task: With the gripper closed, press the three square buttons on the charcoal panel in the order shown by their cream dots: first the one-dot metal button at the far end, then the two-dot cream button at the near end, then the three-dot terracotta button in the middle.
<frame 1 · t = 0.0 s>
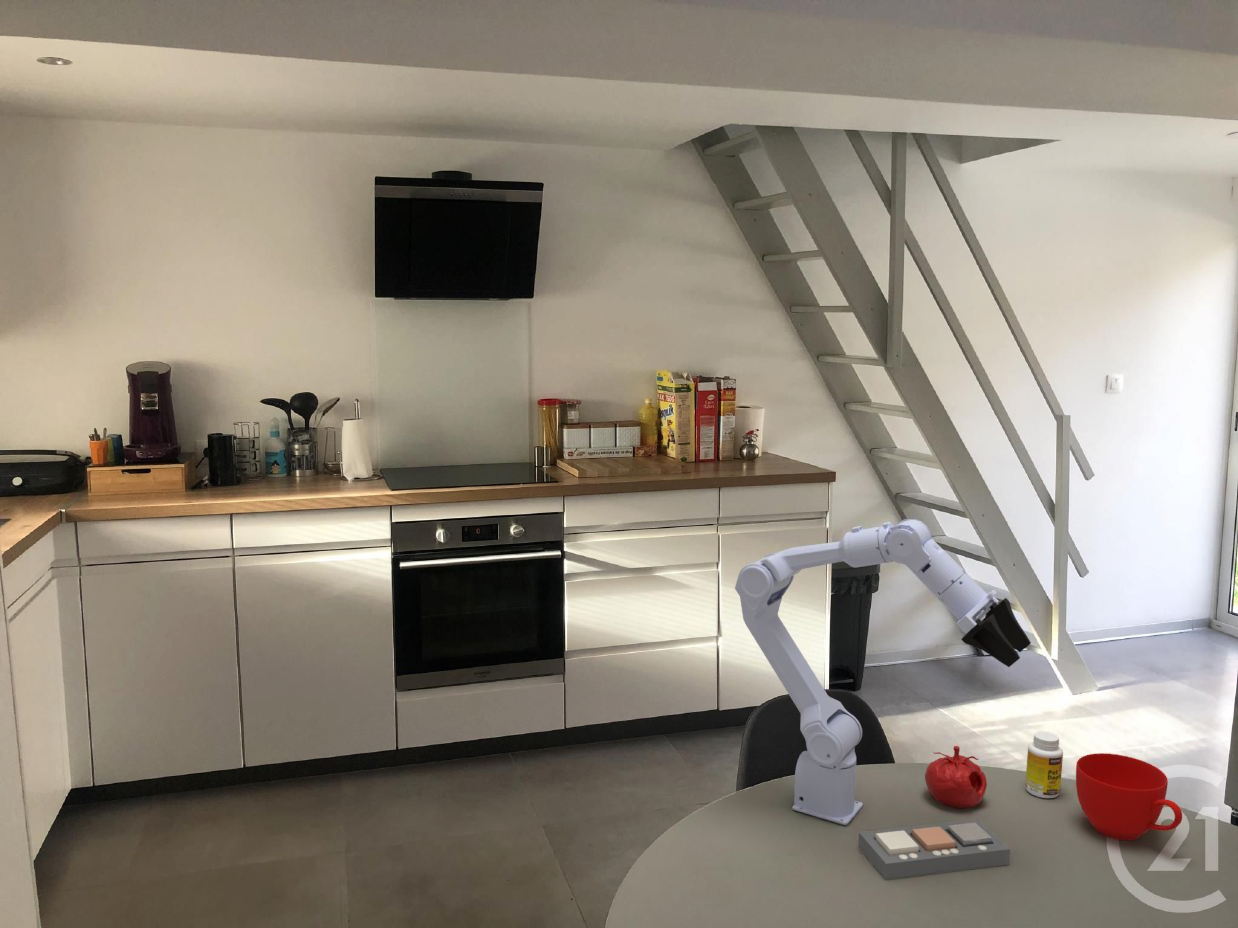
hand: (1020, 654, 144), 32 cm above the table, tool tilted 50°, fingers open, 7 cm apart
button two dot: (896, 845, 148), point 2 cm above the table, slide at 0.0 cm
supplement bottle: (1042, 792, 170), on the table
red hollow rounded sculpture: (954, 800, 167), on the table
button one dot: (969, 836, 151), point 2 cm above the table, slide at 0.0 cm
ceramic cup: (1127, 836, 156), on the table
button panel: (932, 855, 150), on the table
button three dot: (933, 840, 149), point 2 cm above the table, slide at 0.0 cm
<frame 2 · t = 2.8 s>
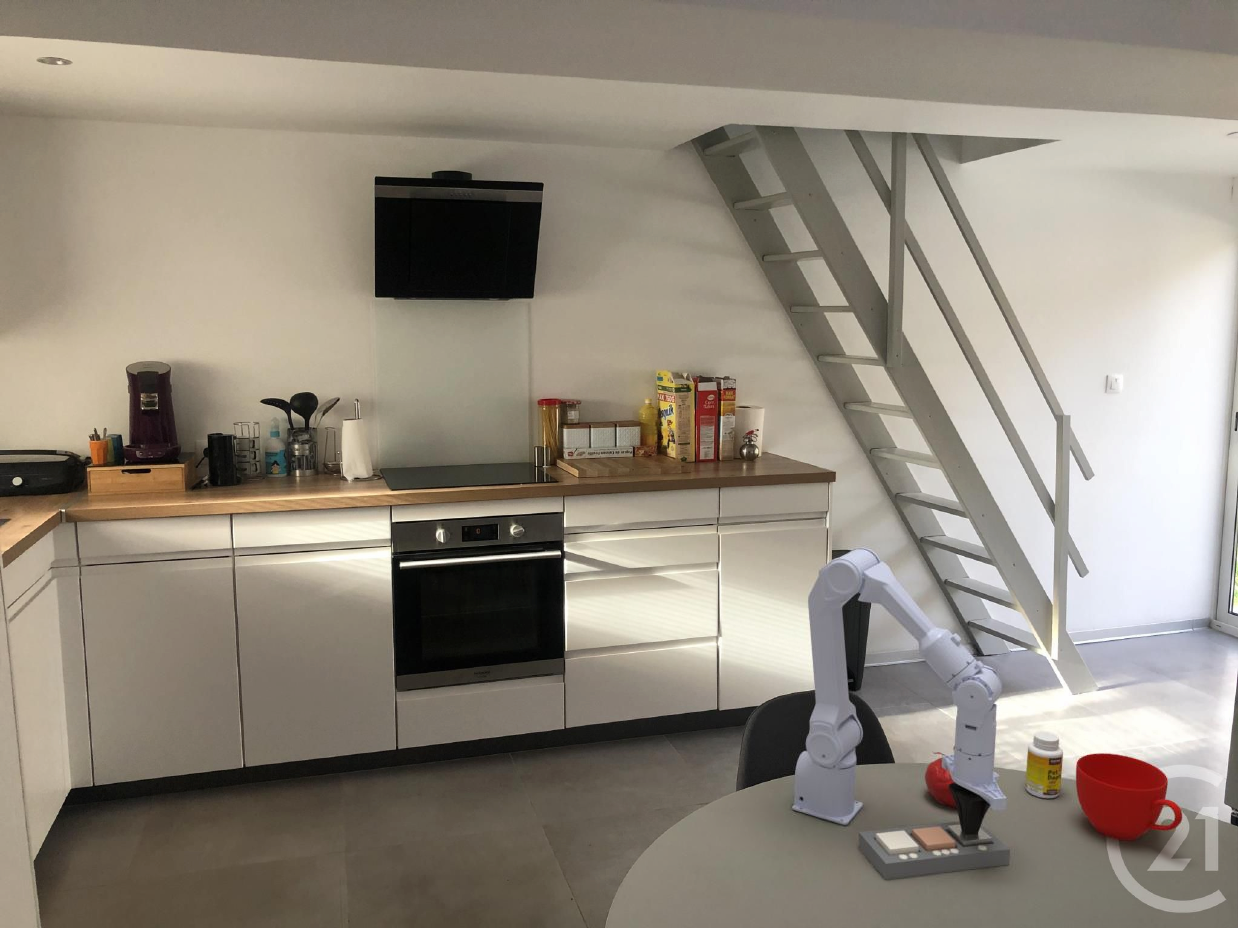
hand: (969, 832, 150), 3 cm above the table, tool pointing down, fingers closed, pressing on button one dot
button one dot: (969, 837, 151), point 2 cm above the table, slide at 0.1 cm, touching gripper
everything else where it was.
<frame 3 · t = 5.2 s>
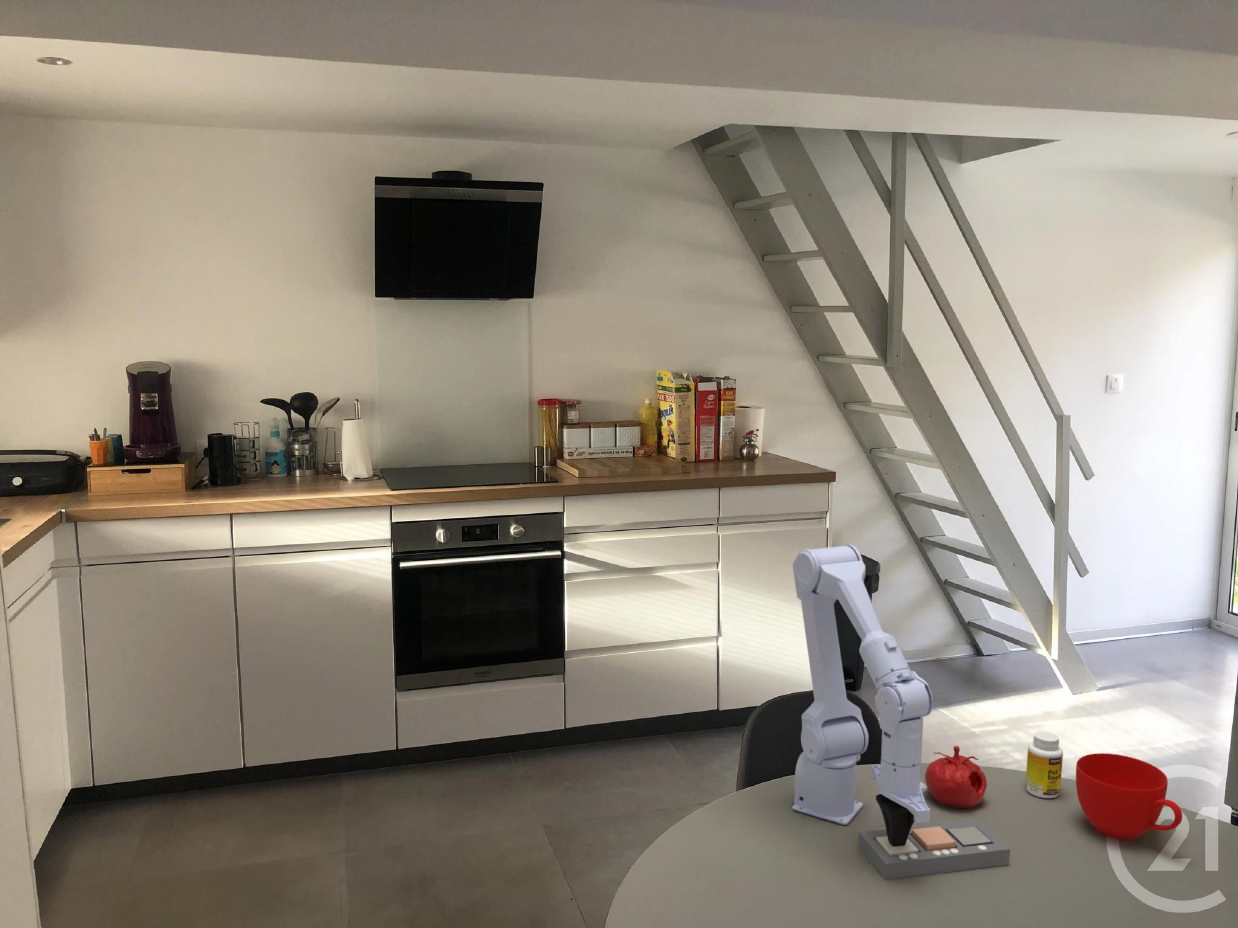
hand: (896, 843, 148), 3 cm above the table, tool pointing down, fingers closed, pressing on button two dot
button two dot: (896, 849, 148), point 2 cm above the table, slide at 0.6 cm, touching gripper
button one dot: (969, 840, 151), point 2 cm above the table, slide at 0.6 cm
everything else where it was.
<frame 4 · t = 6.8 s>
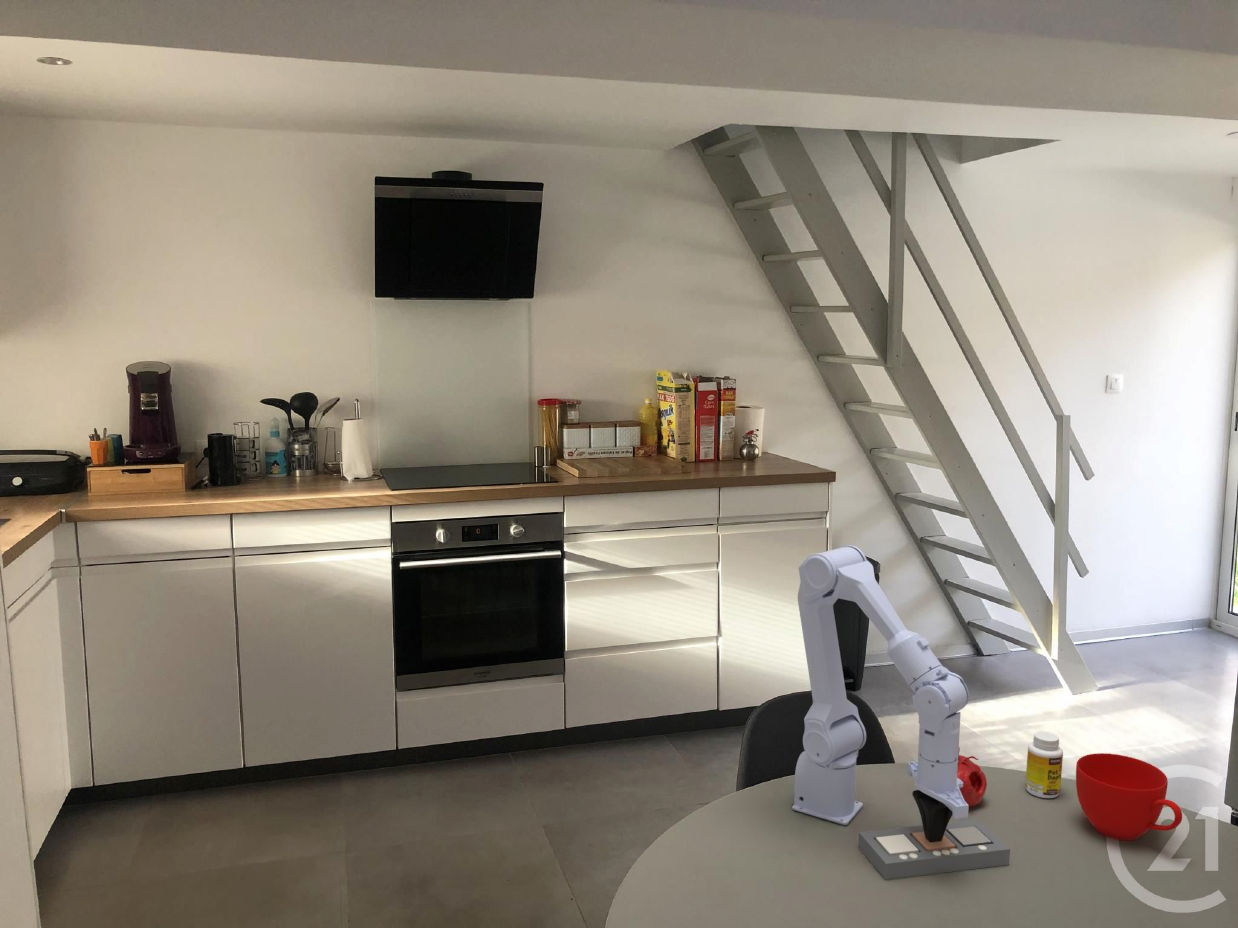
hand: (933, 839, 149), 3 cm above the table, tool pointing down, fingers closed, pressing on button three dot
button two dot: (896, 849, 148), point 2 cm above the table, slide at 0.6 cm
button three dot: (933, 844, 149), point 2 cm above the table, slide at 0.6 cm, touching gripper
everything else where it was.
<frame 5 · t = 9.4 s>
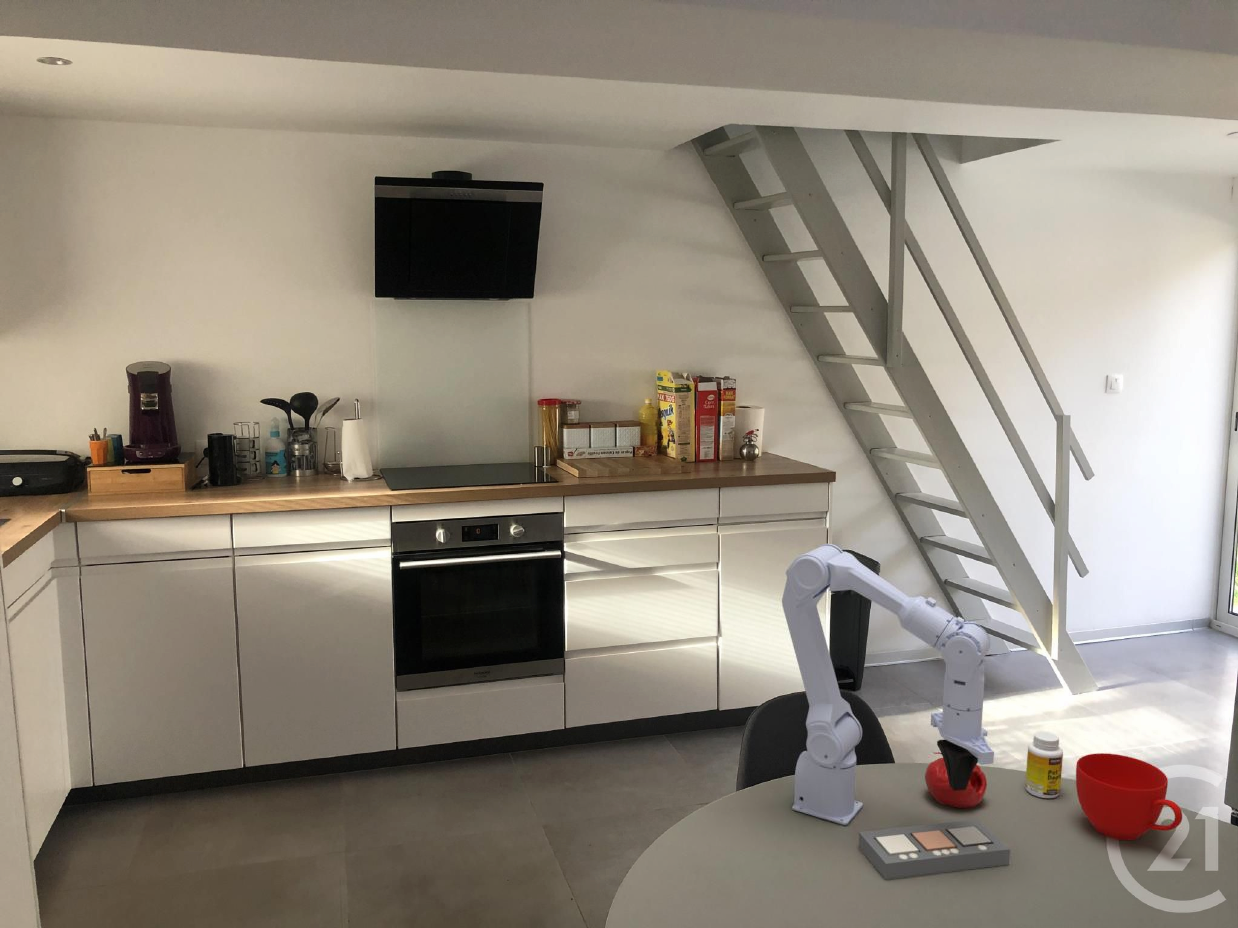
hand: (958, 788, 151), 9 cm above the table, tool pointing down, fingers closed
button three dot: (933, 844, 149), point 2 cm above the table, slide at 0.6 cm
everything else where it was.
at the end: button one dot slide at 0.6 cm; button two dot slide at 0.6 cm; button three dot slide at 0.6 cm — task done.
